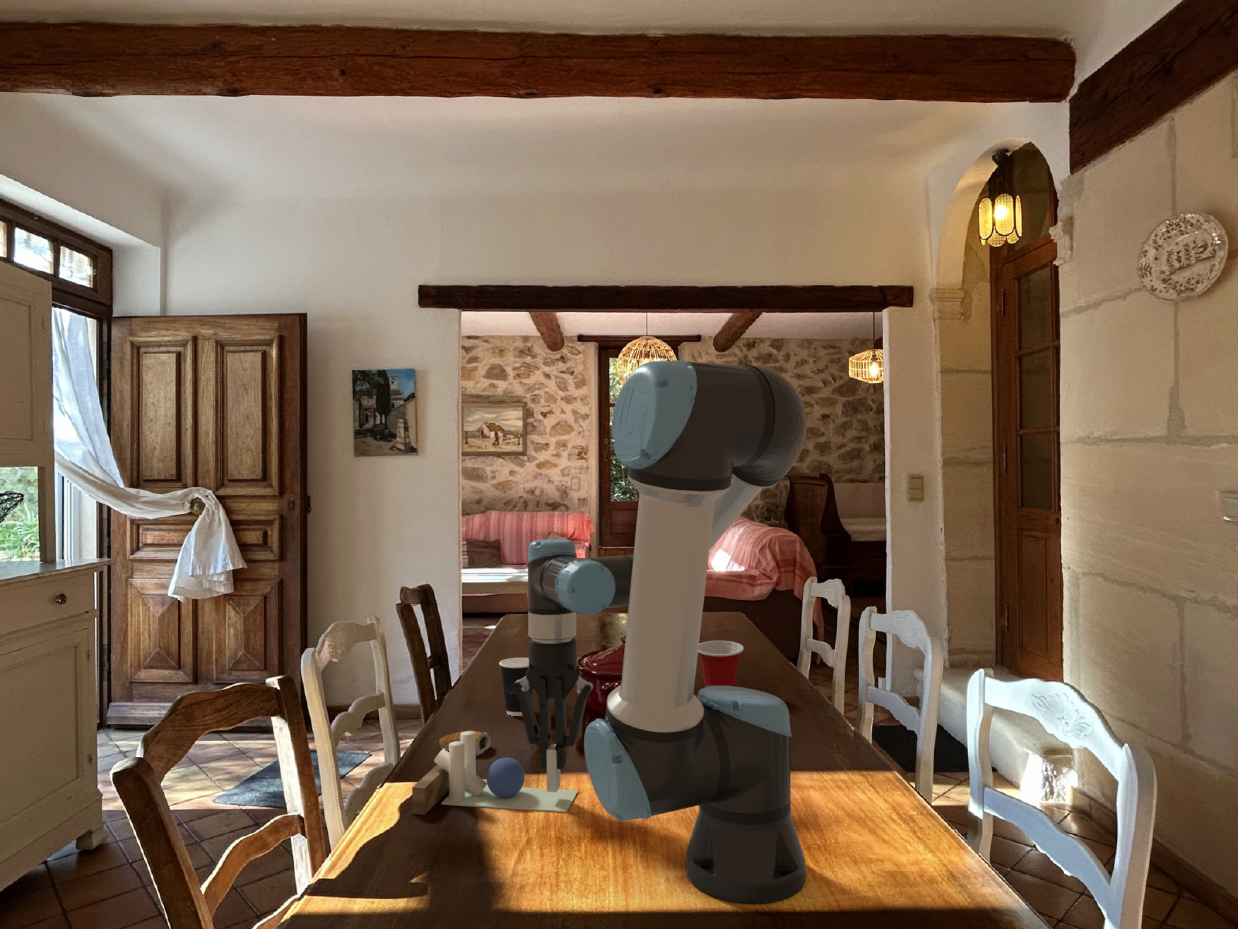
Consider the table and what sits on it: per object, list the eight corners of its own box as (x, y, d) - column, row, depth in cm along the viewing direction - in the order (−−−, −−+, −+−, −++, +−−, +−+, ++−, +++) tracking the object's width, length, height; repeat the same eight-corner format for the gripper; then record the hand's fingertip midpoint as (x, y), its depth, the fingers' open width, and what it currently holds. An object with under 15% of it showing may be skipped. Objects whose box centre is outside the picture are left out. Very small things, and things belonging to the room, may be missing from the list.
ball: (476, 769, 127) (486, 807, 127) (511, 761, 126) (521, 799, 125) (490, 757, 133) (500, 793, 132) (523, 748, 132) (533, 785, 131)
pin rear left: (472, 792, 131) (472, 736, 131) (458, 791, 131) (458, 735, 131) (477, 786, 133) (477, 731, 133) (463, 785, 134) (463, 731, 134)
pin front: (484, 787, 128) (440, 751, 129) (475, 799, 128) (431, 763, 130) (489, 781, 130) (445, 746, 132) (480, 793, 131) (437, 758, 132)
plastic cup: (690, 703, 180) (690, 649, 180) (701, 690, 190) (701, 639, 190) (739, 707, 176) (738, 652, 176) (748, 694, 186) (747, 642, 186)
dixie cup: (507, 721, 168) (506, 668, 168) (494, 711, 175) (494, 660, 175) (542, 715, 172) (542, 663, 172) (528, 706, 179) (528, 656, 179)
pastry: (431, 754, 150) (431, 733, 150) (451, 742, 156) (451, 722, 156) (476, 759, 147) (476, 738, 147) (494, 748, 153) (494, 727, 153)
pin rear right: (461, 805, 126) (461, 747, 126) (446, 804, 126) (446, 746, 126) (467, 798, 128) (466, 741, 128) (452, 798, 129) (452, 741, 129)
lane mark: (566, 812, 123) (566, 811, 123) (441, 804, 126) (441, 803, 126) (578, 791, 131) (578, 790, 131) (460, 784, 134) (460, 783, 134)
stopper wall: (424, 815, 122) (424, 788, 123) (412, 814, 123) (412, 787, 123) (462, 775, 138) (462, 751, 138) (451, 774, 139) (451, 751, 139)
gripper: (597, 634, 130) (599, 782, 130) (519, 632, 132) (520, 777, 132) (588, 644, 123) (589, 801, 122) (505, 642, 125) (506, 795, 125)
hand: (553, 788), depth 127 cm, fingers closed
